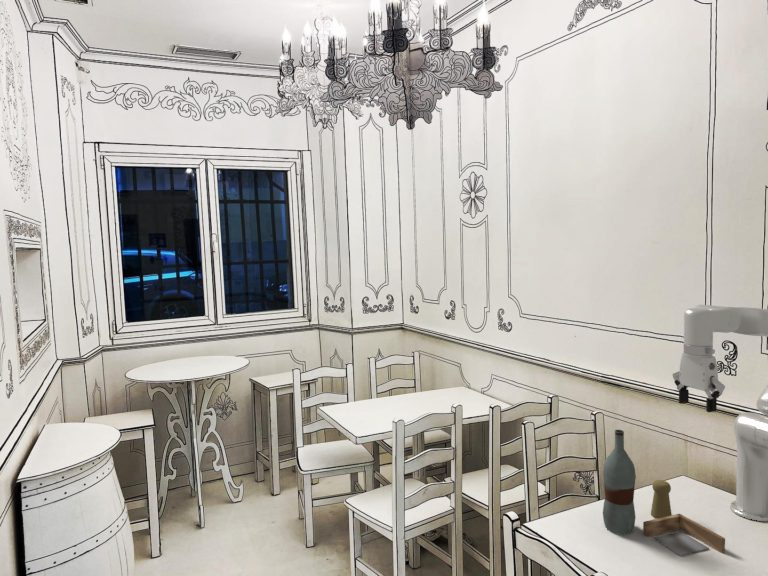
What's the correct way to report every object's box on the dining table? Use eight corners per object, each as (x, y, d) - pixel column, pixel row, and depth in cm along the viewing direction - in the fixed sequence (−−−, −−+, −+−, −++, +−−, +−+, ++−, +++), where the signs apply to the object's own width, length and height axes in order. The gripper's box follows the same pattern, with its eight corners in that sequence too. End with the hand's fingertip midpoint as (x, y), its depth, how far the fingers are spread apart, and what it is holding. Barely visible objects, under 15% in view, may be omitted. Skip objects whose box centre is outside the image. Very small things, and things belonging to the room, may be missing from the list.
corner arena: (679, 526, 170) (679, 513, 170) (724, 552, 156) (725, 538, 155) (643, 534, 166) (643, 521, 166) (686, 562, 151) (686, 547, 151)
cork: (674, 520, 174) (674, 486, 173) (653, 519, 175) (653, 485, 174) (668, 511, 180) (669, 478, 179) (648, 510, 181) (648, 477, 180)
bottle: (598, 520, 176) (598, 425, 173) (629, 520, 175) (629, 425, 173) (608, 535, 166) (608, 436, 164) (640, 536, 165) (640, 436, 163)
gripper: (734, 354, 159) (732, 413, 160) (683, 344, 175) (683, 398, 177) (713, 356, 157) (712, 416, 158) (664, 346, 173) (664, 401, 174)
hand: (697, 407), depth 167 cm, fingers open, 9 cm apart
